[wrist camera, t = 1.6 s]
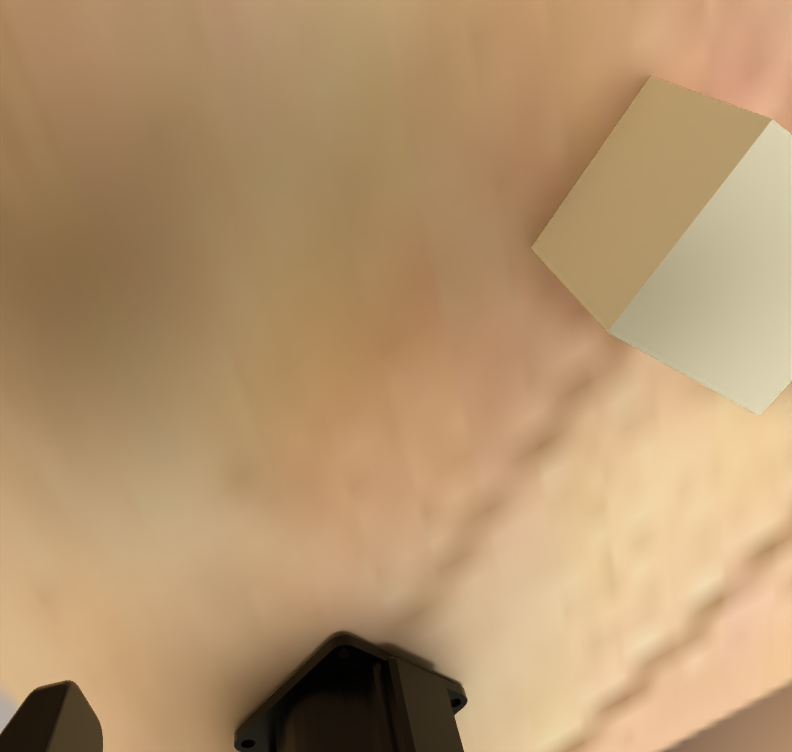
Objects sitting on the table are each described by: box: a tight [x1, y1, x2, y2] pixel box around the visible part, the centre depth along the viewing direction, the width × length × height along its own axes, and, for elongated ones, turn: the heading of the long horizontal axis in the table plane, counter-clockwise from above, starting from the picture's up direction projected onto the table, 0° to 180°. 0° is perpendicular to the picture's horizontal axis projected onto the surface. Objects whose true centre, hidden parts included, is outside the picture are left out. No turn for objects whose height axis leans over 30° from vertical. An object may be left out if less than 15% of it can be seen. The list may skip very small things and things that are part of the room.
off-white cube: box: [531, 76, 792, 416], centre depth 18 cm, size 5×5×5 cm
